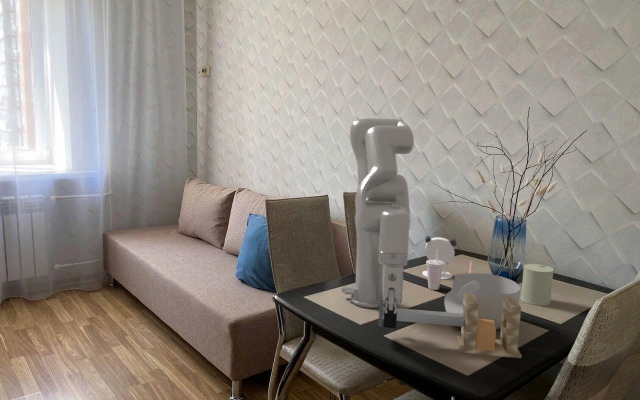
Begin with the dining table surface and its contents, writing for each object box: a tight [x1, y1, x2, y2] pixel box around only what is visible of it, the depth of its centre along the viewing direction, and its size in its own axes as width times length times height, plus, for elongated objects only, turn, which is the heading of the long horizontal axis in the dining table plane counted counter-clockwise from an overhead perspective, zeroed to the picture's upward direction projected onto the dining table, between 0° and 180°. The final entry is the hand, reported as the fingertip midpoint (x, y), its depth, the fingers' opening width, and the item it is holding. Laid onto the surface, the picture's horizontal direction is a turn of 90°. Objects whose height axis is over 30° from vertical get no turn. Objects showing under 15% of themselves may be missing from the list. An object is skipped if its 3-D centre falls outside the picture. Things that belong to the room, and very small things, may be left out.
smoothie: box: [425, 250, 444, 291], centre depth 159 cm, size 6×6×14 cm
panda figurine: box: [422, 235, 457, 281], centre depth 174 cm, size 12×11×15 cm
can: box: [519, 263, 555, 307], centre depth 149 cm, size 9×9×12 cm
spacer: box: [475, 318, 497, 351], centre depth 115 cm, size 4×6×6 cm
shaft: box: [378, 300, 466, 327], centre depth 117 cm, size 22×6×5 cm, turn 80°
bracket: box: [456, 293, 522, 359], centre depth 114 cm, size 14×8×13 cm, turn 80°
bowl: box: [443, 272, 521, 330], centre depth 132 cm, size 20×19×12 cm
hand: (389, 320), depth 119 cm, fingers open, 8 cm apart
